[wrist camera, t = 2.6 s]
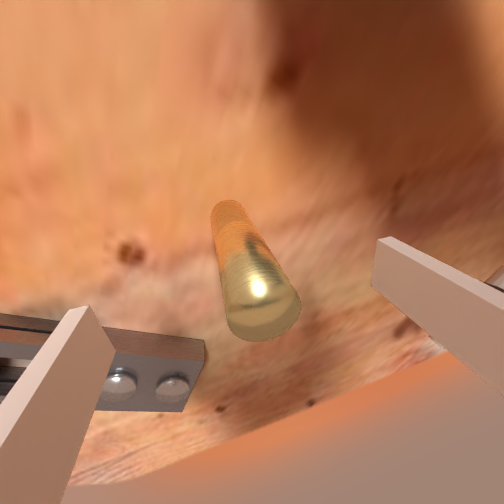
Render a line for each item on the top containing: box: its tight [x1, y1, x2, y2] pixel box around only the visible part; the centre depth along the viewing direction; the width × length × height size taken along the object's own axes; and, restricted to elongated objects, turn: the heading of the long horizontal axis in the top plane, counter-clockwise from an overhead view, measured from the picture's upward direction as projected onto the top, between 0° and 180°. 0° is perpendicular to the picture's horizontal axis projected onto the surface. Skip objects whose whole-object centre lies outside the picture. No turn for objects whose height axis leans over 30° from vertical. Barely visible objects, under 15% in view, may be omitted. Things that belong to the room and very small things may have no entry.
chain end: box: [0, 327, 205, 412], centre depth 22 cm, size 19×8×3 cm, turn 67°
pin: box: [211, 200, 301, 342], centre depth 14 cm, size 3×3×12 cm
